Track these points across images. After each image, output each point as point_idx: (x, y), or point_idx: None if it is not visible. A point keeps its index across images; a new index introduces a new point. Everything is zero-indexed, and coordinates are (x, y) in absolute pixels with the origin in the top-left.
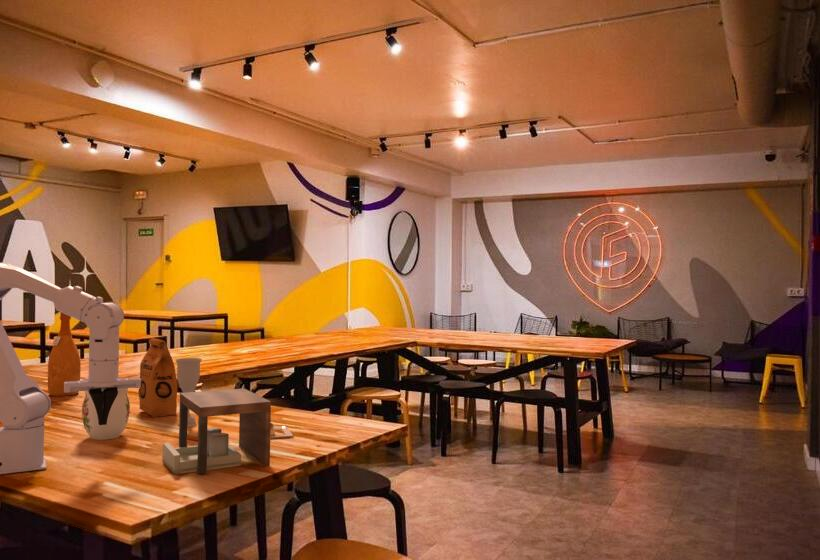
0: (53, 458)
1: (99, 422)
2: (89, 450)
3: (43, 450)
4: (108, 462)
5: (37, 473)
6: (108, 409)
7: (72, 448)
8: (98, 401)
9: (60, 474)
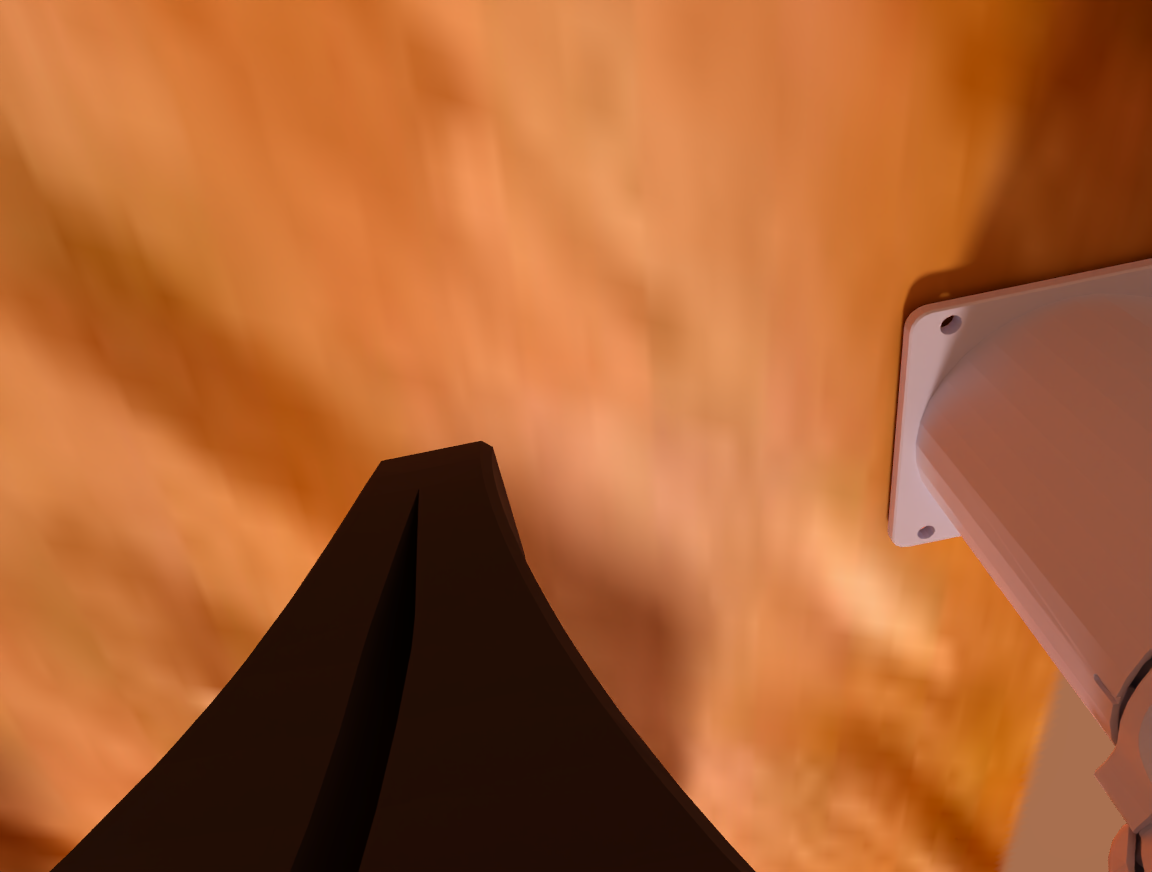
0: (826, 569)
1: (487, 461)
2: (609, 687)
3: (973, 484)
4: (433, 402)
5: (977, 218)
6: (273, 657)
7: (710, 731)
8: (524, 819)
9: (808, 126)
